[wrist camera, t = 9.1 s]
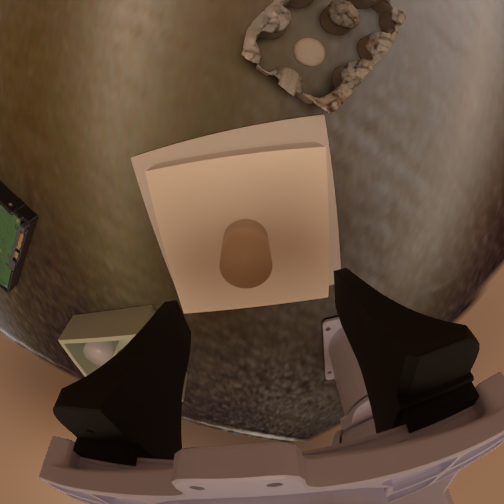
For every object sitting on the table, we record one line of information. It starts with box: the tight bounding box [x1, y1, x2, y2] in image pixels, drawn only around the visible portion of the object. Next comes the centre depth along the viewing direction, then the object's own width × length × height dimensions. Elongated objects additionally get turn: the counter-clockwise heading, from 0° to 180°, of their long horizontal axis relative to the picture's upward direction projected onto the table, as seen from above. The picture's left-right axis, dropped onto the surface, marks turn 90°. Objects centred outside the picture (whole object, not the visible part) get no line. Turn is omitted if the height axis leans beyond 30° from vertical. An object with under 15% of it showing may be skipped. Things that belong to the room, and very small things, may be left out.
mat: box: [131, 114, 341, 288], centre depth 22 cm, size 14×14×1 cm
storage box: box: [58, 304, 188, 401], centre depth 27 cm, size 10×10×4 cm
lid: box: [145, 142, 329, 314], centre depth 19 cm, size 11×11×6 cm
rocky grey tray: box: [242, 0, 406, 114], centre depth 14 cm, size 11×8×4 cm
